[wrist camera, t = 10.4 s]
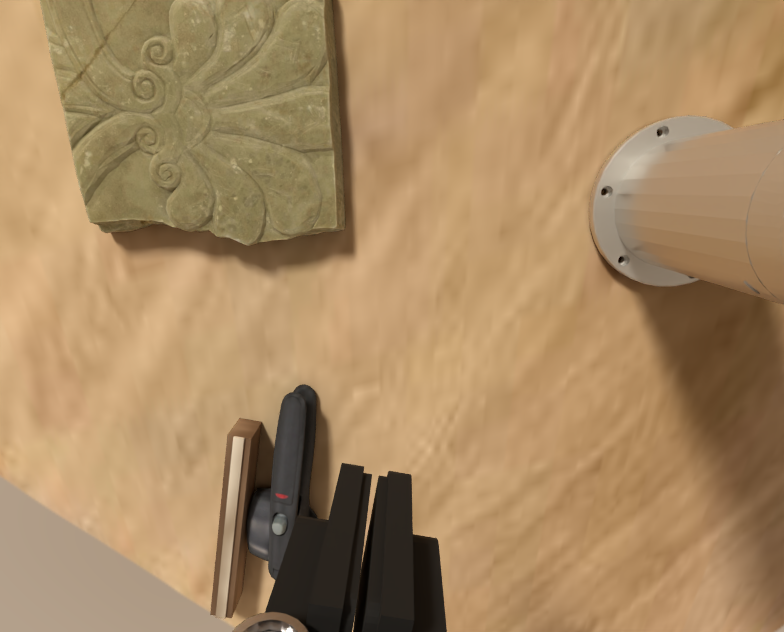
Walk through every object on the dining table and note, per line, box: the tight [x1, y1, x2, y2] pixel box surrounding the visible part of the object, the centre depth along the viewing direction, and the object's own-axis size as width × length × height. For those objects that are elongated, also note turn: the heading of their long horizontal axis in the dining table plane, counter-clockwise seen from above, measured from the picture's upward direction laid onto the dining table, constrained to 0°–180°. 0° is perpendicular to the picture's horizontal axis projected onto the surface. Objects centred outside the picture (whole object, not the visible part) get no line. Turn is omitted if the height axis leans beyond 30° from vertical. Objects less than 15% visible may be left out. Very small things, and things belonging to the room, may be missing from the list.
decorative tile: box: [40, 0, 345, 246], centre depth 35 cm, size 19×20×4 cm
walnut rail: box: [210, 418, 262, 619], centre depth 44 cm, size 2×19×3 cm, turn 170°
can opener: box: [246, 385, 318, 580], centre depth 42 cm, size 18×7×6 cm, turn 170°
